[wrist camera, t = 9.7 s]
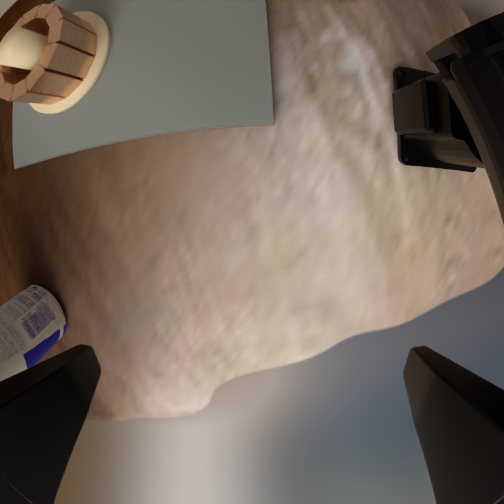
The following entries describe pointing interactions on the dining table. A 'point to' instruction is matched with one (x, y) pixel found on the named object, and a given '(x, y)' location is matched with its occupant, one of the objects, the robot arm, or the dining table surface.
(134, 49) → the bobbin board
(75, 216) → the dining table surface
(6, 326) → the beverage can
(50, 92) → the wooden slatted ring
